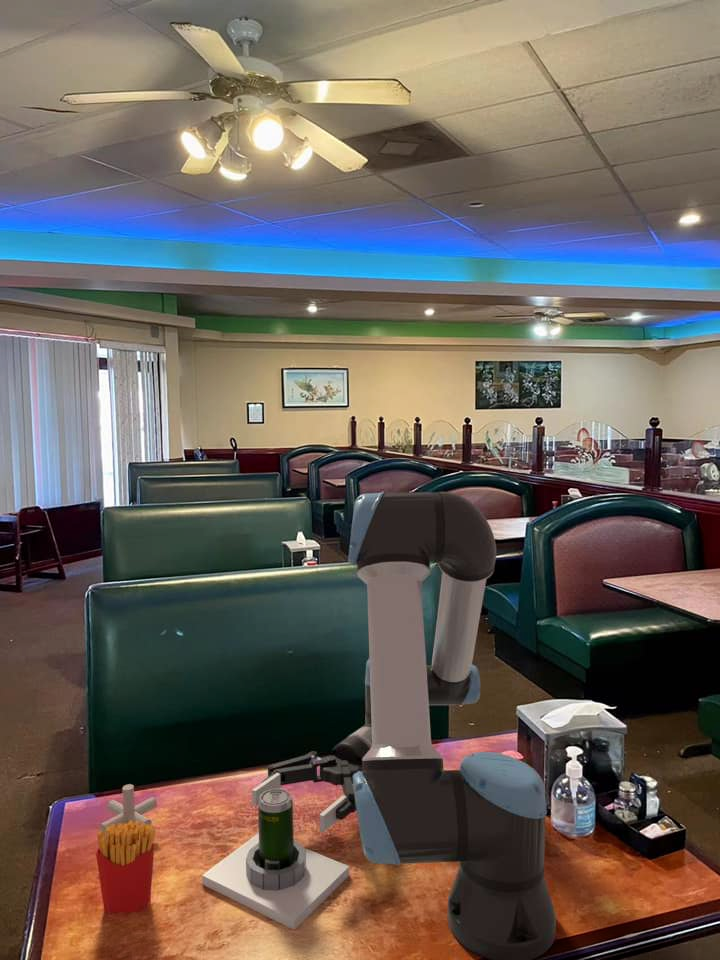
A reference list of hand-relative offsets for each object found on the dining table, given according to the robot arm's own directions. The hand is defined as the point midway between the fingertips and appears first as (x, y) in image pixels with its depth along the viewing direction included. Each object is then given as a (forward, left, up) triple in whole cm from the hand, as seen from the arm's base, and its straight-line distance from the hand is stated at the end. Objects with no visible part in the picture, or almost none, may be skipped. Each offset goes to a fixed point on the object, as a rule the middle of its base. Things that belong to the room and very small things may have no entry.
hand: (286, 810), depth 111 cm
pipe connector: (+27, +9, -10) cm, 30 cm away
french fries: (+15, +19, -10) cm, 26 cm away
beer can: (0, +3, -8) cm, 9 cm away
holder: (0, +3, -10) cm, 10 cm away
